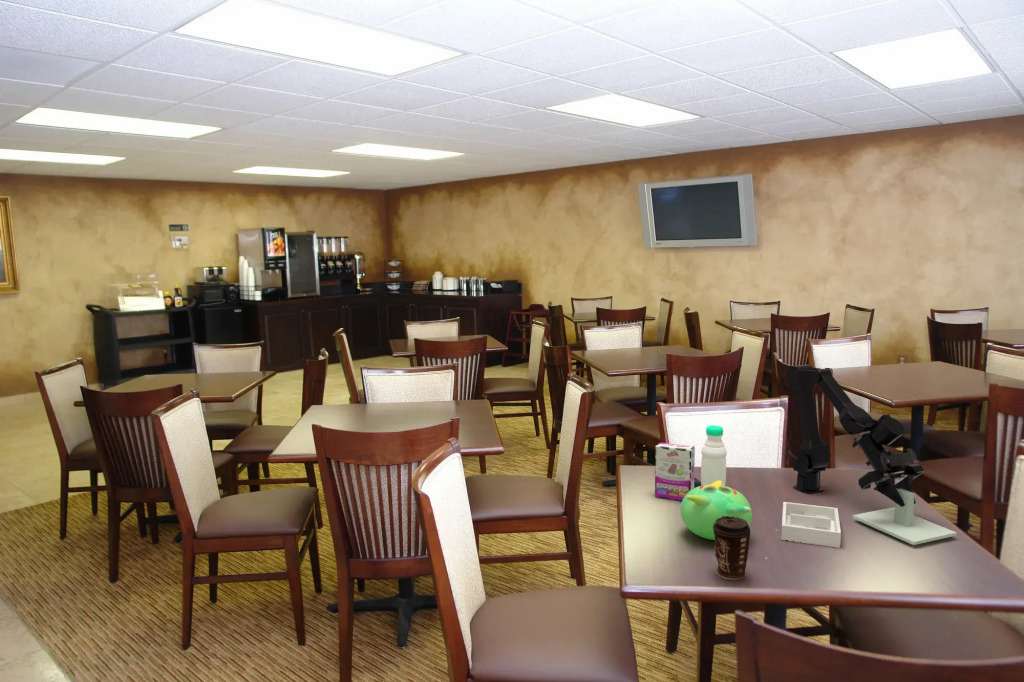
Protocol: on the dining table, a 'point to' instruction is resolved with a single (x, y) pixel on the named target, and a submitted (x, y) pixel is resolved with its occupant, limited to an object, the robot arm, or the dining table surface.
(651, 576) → the dining table surface
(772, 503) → the dining table surface
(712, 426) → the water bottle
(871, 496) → the dining table surface
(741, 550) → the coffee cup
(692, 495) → the toy bird
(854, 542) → the dining table surface
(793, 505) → the tub
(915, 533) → the lid
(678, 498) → the candy bar box
